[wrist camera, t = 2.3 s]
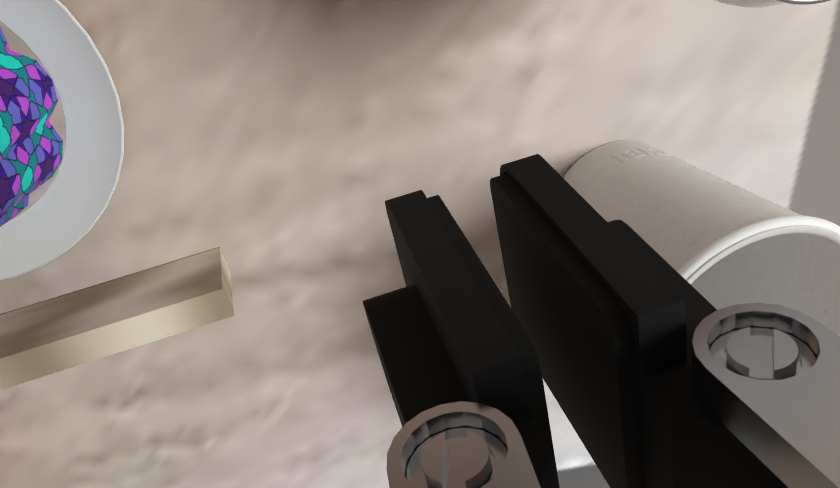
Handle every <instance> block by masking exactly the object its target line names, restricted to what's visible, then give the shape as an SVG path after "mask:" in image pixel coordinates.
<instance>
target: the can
mask: <svg viewBox="0 0 840 488" xmlns="http://www.w3.org/2000/svg"><path fill="white" fill-rule="evenodd" d="M715 1H718V2H722V3H725V4H730V5H735V6H742V7H768V6H775V5H780V4H784V3H789V4H815V3H821V2H826V1H830V0H715Z"/></svg>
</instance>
